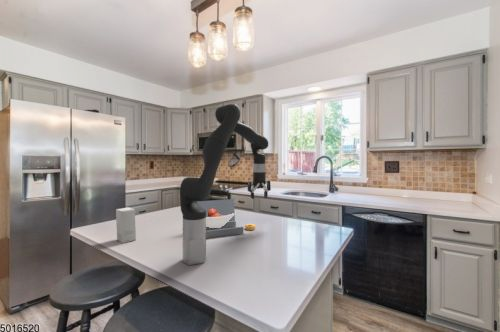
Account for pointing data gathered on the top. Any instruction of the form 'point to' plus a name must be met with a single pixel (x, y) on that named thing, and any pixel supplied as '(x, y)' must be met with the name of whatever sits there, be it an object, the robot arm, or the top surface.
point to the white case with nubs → (224, 230)
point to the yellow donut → (250, 227)
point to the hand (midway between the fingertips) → (259, 198)
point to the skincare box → (125, 224)
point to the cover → (219, 206)
